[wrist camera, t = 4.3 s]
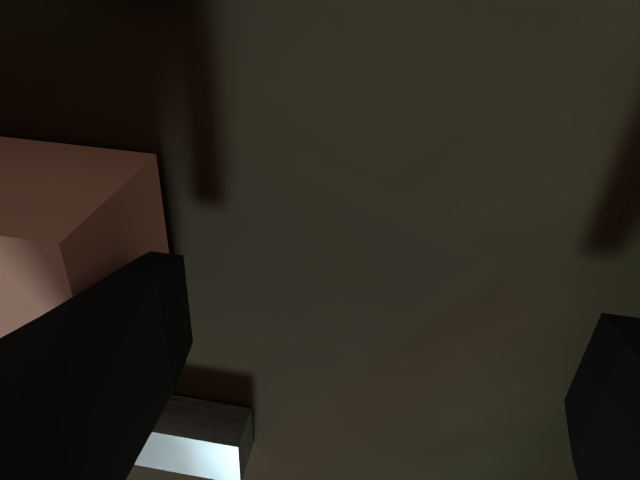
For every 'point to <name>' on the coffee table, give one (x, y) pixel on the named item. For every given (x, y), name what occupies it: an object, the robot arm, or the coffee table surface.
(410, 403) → the coffee table surface
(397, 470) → the coffee table surface
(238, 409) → the pale grey flat frame
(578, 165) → the coffee table surface
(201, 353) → the coffee table surface
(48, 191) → the block
